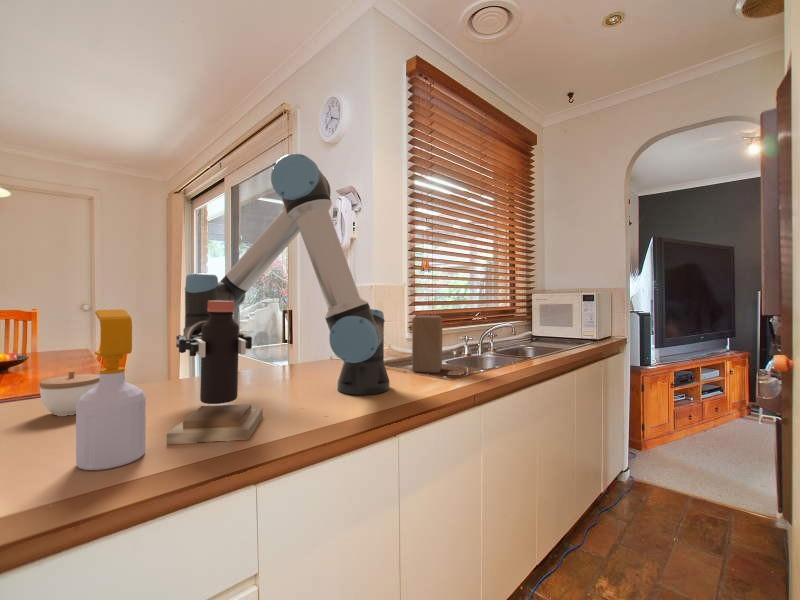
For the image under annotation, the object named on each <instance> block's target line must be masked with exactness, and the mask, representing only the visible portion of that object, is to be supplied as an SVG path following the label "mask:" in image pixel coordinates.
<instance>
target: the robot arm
mask: <svg viewBox="0 0 800 600" xmlns="http://www.w3.org/2000/svg"><path fill="white" fill-rule="evenodd" d="M270 181H271V186H272V188H273V190H274V191H275V193H276V194H277V195H278V196H279V197H281V201H282V203H283V204H282V210H281V211H280V212H279V214H278V215H277V216H276V217H275V218H274V219H273V220H272V222H270V223H269V224H268V226H267V228H265V230H264V231H263V232H262V233H261V234H260V235H259V236H258V237H257V238H256V240H255V241H254V242H253V243H252V244H251V245H250V246H249V248H248V249H247V250H246V251H245V252H244V254H243V255H242V256H241V257H240V258H239V259H238V260H237V261H236V263H235V264H234V265H233V266H232V267H231V268H230V270H229V271H228V272H227V273H226V274H225V275H224V276H223V278H222V279H220V281H219V279H218V276H217V275H216V274H213V273H189V274H187V275H186V277H185V287H184V328H183V334H182V335H181V334H178V335H176V337H175V338H176V344H175V345H176V346H175V347H176V348H178V353H180V354H184V353H186V351H189V357H197V355H198V356H199V357H200V358H201V357H205V342H204V341H203V340H202V326H203V324H204V323H205V322H206V321H207V320H208V319H209V314H208V313H209V312H208V311H207V309H208V301H234V309H235V308H239V307H240V306H241V305H242V304H244V302H245V299H246V296H247V295H246V294H247V292H248V291H249V290H250V289H251V288H252V287H253V285H255V283H256V282H257V281H258V280H259V279H260V278H261V276H262V275H263V274H264V273H265V272H266V271H267V270H268V268H270V267H271V266H272V264H273V263H274V262H275V261H276V260H277V258H278V257H279V256H280V255H281V254H282V253H283V252H284V251H285V249H286V248H287V247H288V246H289V245H290V244H291V243H292V241H293V240H294V239H295V238H296V237H297V235H299V233H300V235H301V238H302V240H303V243H304V245H305V250H306V251H307V254H308V257H309V260H310V262H311V265H312V268H313V270H314V271H313V272H314V273H315V276H316V279H317V281H318V284H319V287H320V290H321V293H322V295H323V298H324V301H325V304H326V307H327V312H326V315H325V318H324V319H325V321H326V324H327V326H328V330H329V334H328V335H329V339H328V341H329V345H330V348H331V350H332V352H333V354H334V355H335V356H336V357H337V358H338V359H339V360H342V361H343V364H342V367H341V370H340V373H339V376H338V379H337V391H338V392H339V393H343V394H347V395H354V396H355V395H357V396H358V395H359V396H363V395H364V396H366V395H367V396H369V395H377V394H378V395H379V394H383V393H385V392H388V391H389V390H390V389H391V387H390V385H391V384H390V383H391V382H390V379H389V376H388V372H387V369H386V365H385V361H384V360H385V359H384V356H385V355H384V354H385V353H384V351H385V349H384V346H385V345H384V344H385V341H384V340H385V339H384V337H385V336H384V335H385V334H384V333H385V329H384V328H385V322H386V320H385V318H384V312H383V311H382V310H380V309H373V308H371V306H370V304H369V301H366V300H365V299H362V298H361V296H360V294H359V291H358V289H357V285H356V283H355V281H354V278H353V275H352V272H351V269H350V265H349V263H348V261H347V258H346V255H345V252H344V250H343V246H342V243H341V242H340V239H339V236H338V233H337V231H336V228H335V225H334V222H333V220H332V216H331V214H330V209H331V208H332V205H333V202H332V199H331V186H330V183H329V181H328V179H327V178H326V176H324V174H323V173H322V171H321V170H320V169H319V167H318V164H316V162H315V161H314V160H312V159H311V158H310V157H308V156H306V155H305V154H301V153H290V154H285V155H284V156H282V157H280V159H278V160H277V161H276V162H275V164H274V166H273V168H272V169H271V173H270ZM252 342H253V338H252V336H250V335H246V334H244V333H241V332H239V339H238V354H239V355H246V354H247V353H246V350H251V349H252V347H253V343H252Z"/></svg>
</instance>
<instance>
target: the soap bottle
mask: <svg viewBox="0 0 800 600" xmlns="http://www.w3.org/2000/svg"><path fill="white" fill-rule="evenodd" d="M94 314H95V315H96V316H97V318H98V320H99V324H100V325H99V326H100V349H99V350H96V351H94V355H95V356H98V357H101V360H102V361H105V362H106V363H105V368H101V369H99V375H100V383H99V384H98V385H97V386H96V387H94V388H93V389H91V390H89V391H88V392H86V393H85V394H84V395H83V396H82V397H81V398H79V400H78V402H77V405H76V415H75V464H76V465H77V467H78V468H79V469H81V470H85V471H102V470H109V469H115V468H119V467H122V466H125V465H128V464H131V463H133V462H135V461H137V460H138V459H140V458H141V457H143V456H144V454H145V453H146V447H147V446H146V445H147V444H146V442H147V441H146V440H147V439H146V436H147V435H146V429H147V428H146V423H147V422H146V419H147V418H146V417H147V416H146V409H147V408H146V404H147V403H146V400H147V399H146V398H147V396H146V394H145V392H144V390H143V389H141V388H139V387H137V386H136V385H134V384H132V383H128V382H127V381H126V371H125V370H126V369H125V367H123V366H120V365H119V363H120V362H119V361H120V360H122V359H123V357H124V356H123V355H126V354H127V355H128V354H132V350H133V321H132V316H131V315H130V314H129V313H128V312H127V310H125V309H96V310H95V312H94Z"/></svg>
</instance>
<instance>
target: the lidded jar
mask: <svg viewBox="0 0 800 600" xmlns="http://www.w3.org/2000/svg"><path fill="white" fill-rule="evenodd" d="M99 383H100V374H97V373H95V374H93V373H83V374H82V373H80V374H75V371H74V370H72V371H71V370H70V371H68V375H60V376H56V377H55V376H54V377H50V378H46V379H43V380H41V381H39V387H40V389H39V391H40V398H41V403H42V404H43V407H44V408H45V410H47V411H48V412H50V413H52V414H53V416H54V415H57V416H56V417H68V416H67V415H70V416H75V415H74V414H76V405H77V402H78V400H79V398H81V397H82V396H83V395H84V394H85V393H86V392H88V391H89V390H91V389H93V388H94V387H96V386H97V385H98V384H99Z"/></svg>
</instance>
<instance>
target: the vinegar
mask: <svg viewBox="0 0 800 600" xmlns="http://www.w3.org/2000/svg"><path fill="white" fill-rule="evenodd" d="M207 311H208V312H209V313H208V314H209V319H208V320H207V321H206V322H205V323H204V324H203V326H202V340H203V341H204V342H205V357H200V386H199V387H200V393H199V394H200V395H199V397H200V398H199V399H200V402H201V403H202V404H207V405H220V404H221V405H222V404H227V403H231V402H233V401H236V400H237V398H238V390H239V389H238V386H239V381H238V380H239V353H238V339H239V333H240V326H239V324H238V323H237V322H236V321H235V320H234V319H233V315H235V313H234V312H235V308H234V301H208V309H207Z"/></svg>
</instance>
